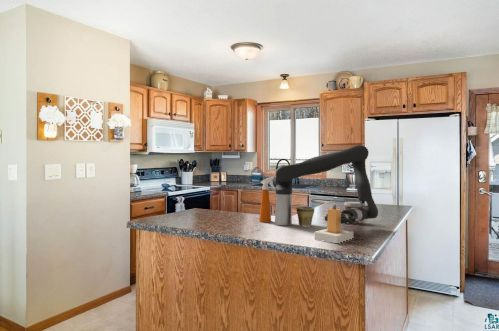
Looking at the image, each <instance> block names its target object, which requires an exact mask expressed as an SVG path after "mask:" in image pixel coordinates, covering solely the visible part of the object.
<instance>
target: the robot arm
mask: <svg viewBox="0 0 499 331" xmlns="http://www.w3.org/2000/svg"><path fill="white" fill-rule="evenodd" d="M368 156H369V149H368V148H367V147H366V146H365V145H360V144H358V145H355V146H352V147H349V148H347V149H346V148H345V149H343V150H342V151H336V152H331V153H326V154H325V153H324V154H322V155H318V156H314V157H311V158H308V159H305V160H304V161H301V162H297V163H294V164H287V165H285V164H283V165H279V166H278V167H277V168H276V170H275V189H276V190H275V207H274V216H275V217H274V225H276V226H291V225H292V224H293V223H292V222H293V216H292V214H293V213H292V212H293V180H294V179H297V178H300V177H304V176H311V175H315V174H317V175H318V174H321V173H326V172H328V171H331V170H334V169H336V168H338V167H341V166H343V165H347V164H351V165H352V169H353V172H354V176H355V177H354V178H355V183H356V184H355V185H356V191H357V197H358V200H359V201H360V202H365V203H366V204H367V205H361V207H357V208H350V209H345V208H344V209H343V210H341V225H343V224H344V225H349V226H350V225H354V224H353V223H357V222H358V223H359V222H362V221H364V220H369V219H370V220H371V219H375V218H378V215H379V209H378V206H377V205H376V203H375V199H374V198H373V194H372V189H371V183H370V180H369V178H368V174H367V170H366V160H368ZM327 220H328V213H326V216H324V221H326V222H327Z"/></svg>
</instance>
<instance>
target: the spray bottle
mask: <svg viewBox="0 0 499 331" xmlns="http://www.w3.org/2000/svg"><path fill="white" fill-rule="evenodd" d="M274 179H275V177H274V176H270V177H267V178H264V179H261V181H260V184H261V185H262V189H261V200H260V209H259V210H260V211H259V217H258V221H259V222H260V223H270V222H272V215H271V214H272V213H271V203H270V192H269V185H270V186H271V188H272V189H273V190H274V191H276V186H275V185H274Z"/></svg>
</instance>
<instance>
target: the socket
mask: <svg viewBox="0 0 499 331" xmlns="http://www.w3.org/2000/svg"><path fill="white" fill-rule="evenodd" d="M352 238H353V239H354V231H353V230H348V229H347V230H346V229H343V228H341V233H338V234H334V233H329V232H327V228H324V229H320V230H317V231H314V240H316V239H319V240H318V241H320V240H324V241H323V242H325V241H329V242H333V243H332V244H334V243H339V244H341V243H340V242H342V243H344V242H343V241H345V242H347V241H346V240H348V241H350V240H349V239H351V240H353V239H352ZM329 242H328V243H329Z"/></svg>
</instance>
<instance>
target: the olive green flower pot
mask: <svg viewBox="0 0 499 331" xmlns="http://www.w3.org/2000/svg"><path fill="white" fill-rule="evenodd" d="M295 208H296V214H297V220H298V224H299V225H300V226H299V227H302V226H306V227H305V228H309V227H308V226H310V227H311V226H312V222H313V218H314V213H315V208H316V207H313V206H307V205H306V206H304V205H303V206H302V205H301V206H297V207H295Z"/></svg>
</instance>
